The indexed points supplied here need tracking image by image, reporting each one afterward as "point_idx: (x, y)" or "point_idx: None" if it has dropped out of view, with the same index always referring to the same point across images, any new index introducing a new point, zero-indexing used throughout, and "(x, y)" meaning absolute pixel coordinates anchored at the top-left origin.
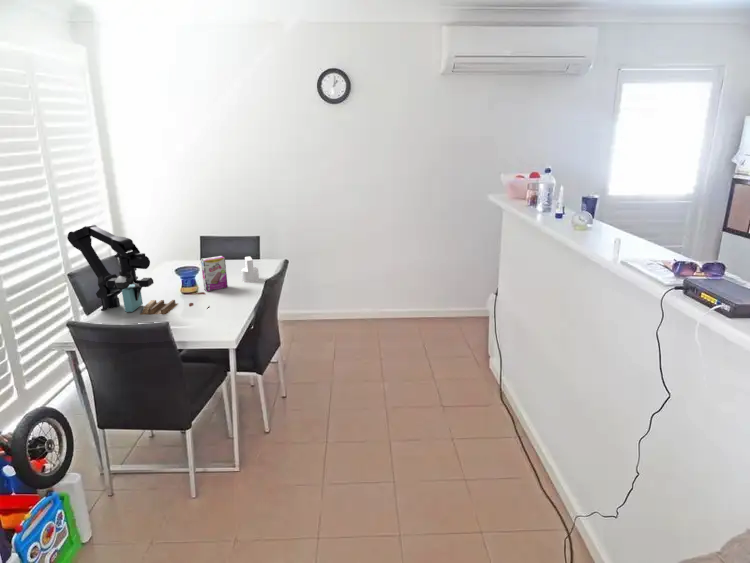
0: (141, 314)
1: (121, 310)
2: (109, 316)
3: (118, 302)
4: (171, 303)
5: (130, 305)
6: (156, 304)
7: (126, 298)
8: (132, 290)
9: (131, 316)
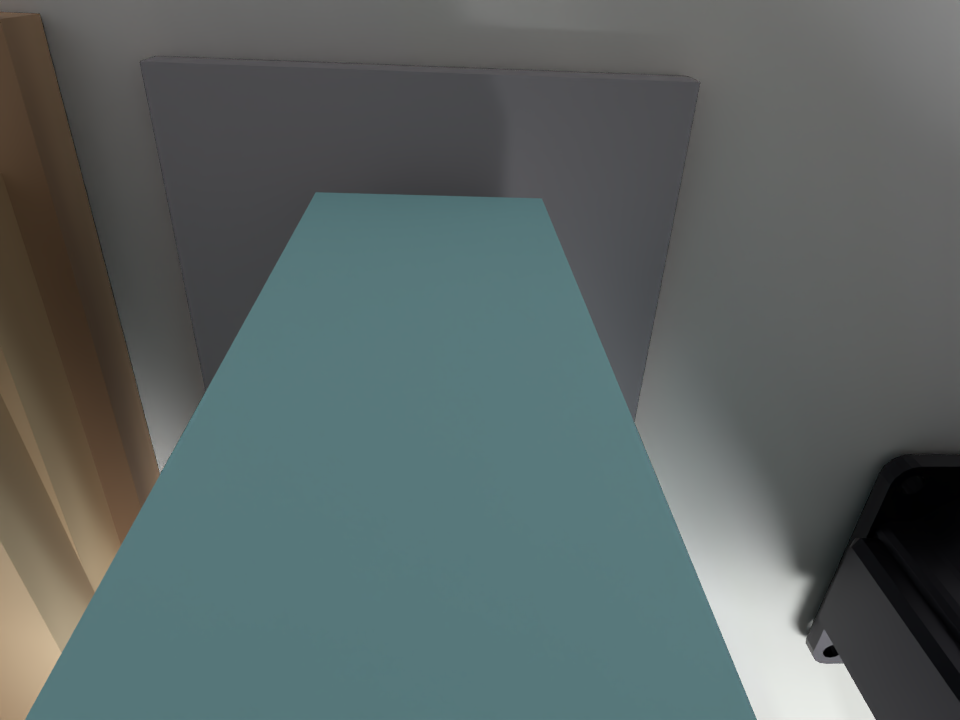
0: None
1: (740, 456)
2: (950, 86)
3: (875, 664)
4: None
5: (309, 275)
6: None
7: (428, 497)
8: None
9: (316, 47)
